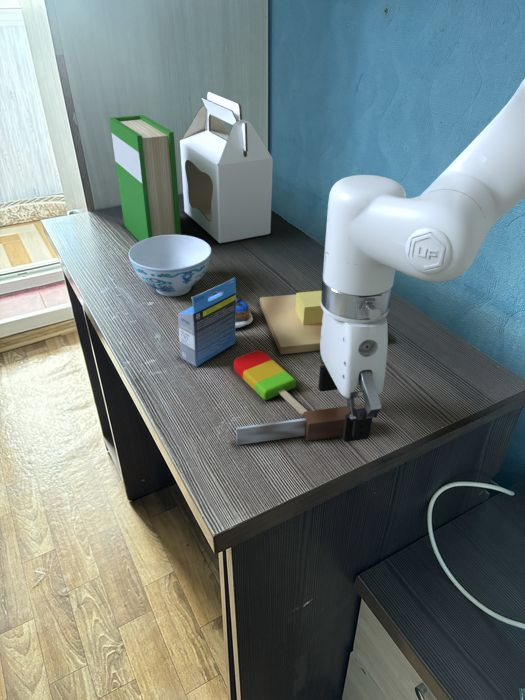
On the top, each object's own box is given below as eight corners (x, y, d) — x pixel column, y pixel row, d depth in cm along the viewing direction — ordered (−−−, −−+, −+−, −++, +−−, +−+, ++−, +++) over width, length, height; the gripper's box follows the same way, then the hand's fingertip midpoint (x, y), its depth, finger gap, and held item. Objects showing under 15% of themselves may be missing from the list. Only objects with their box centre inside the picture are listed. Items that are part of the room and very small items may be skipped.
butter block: (333, 306, 92) (335, 289, 90) (342, 321, 88) (344, 303, 86) (295, 310, 91) (296, 292, 89) (303, 325, 87) (304, 307, 85)
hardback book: (182, 246, 115) (173, 132, 101) (150, 253, 112) (137, 136, 98) (153, 220, 127) (142, 114, 113) (124, 225, 124) (109, 117, 110)
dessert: (263, 312, 91) (250, 295, 86) (246, 344, 90) (231, 329, 85) (228, 301, 95) (214, 284, 90) (211, 331, 94) (195, 316, 89)
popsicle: (260, 357, 82) (260, 347, 81) (320, 411, 72) (322, 401, 71) (230, 368, 79) (230, 358, 78) (288, 426, 69) (289, 416, 68)
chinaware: (228, 286, 100) (228, 249, 96) (171, 317, 91) (167, 277, 86) (175, 263, 108) (172, 228, 104) (117, 289, 98) (111, 252, 94)
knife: (358, 420, 70) (361, 403, 69) (364, 432, 68) (368, 416, 67) (235, 437, 67) (234, 420, 65) (238, 451, 65) (238, 433, 64)
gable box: (183, 211, 132) (175, 90, 116) (230, 204, 137) (229, 87, 121) (219, 244, 116) (216, 109, 100) (271, 234, 122) (275, 104, 105)
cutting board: (352, 296, 98) (353, 289, 98) (385, 343, 86) (387, 335, 85) (259, 304, 95) (259, 297, 94) (280, 354, 82) (280, 347, 82)
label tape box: (219, 335, 87) (217, 268, 79) (237, 344, 84) (236, 277, 77) (179, 358, 81) (173, 288, 74) (197, 368, 79) (192, 298, 72)
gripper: (424, 332, 50) (397, 456, 60) (359, 258, 64) (346, 369, 74) (351, 342, 49) (336, 467, 59) (301, 264, 63) (296, 376, 73)
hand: (342, 412), depth 66 cm, fingers open, 9 cm apart
